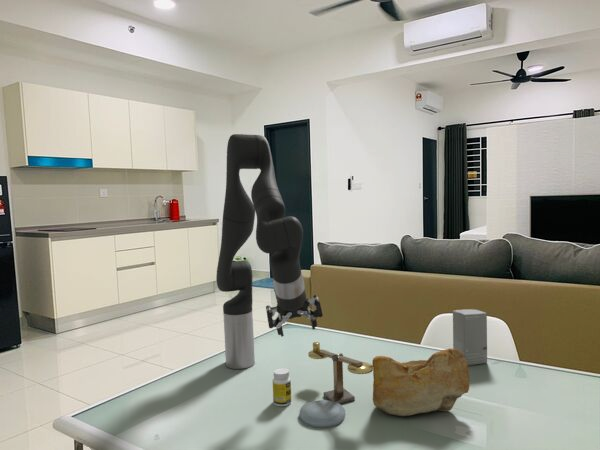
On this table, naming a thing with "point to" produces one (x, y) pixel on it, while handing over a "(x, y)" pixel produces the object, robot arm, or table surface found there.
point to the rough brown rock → (420, 383)
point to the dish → (322, 413)
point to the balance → (340, 372)
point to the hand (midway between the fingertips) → (297, 330)
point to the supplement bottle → (281, 387)
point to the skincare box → (470, 335)
